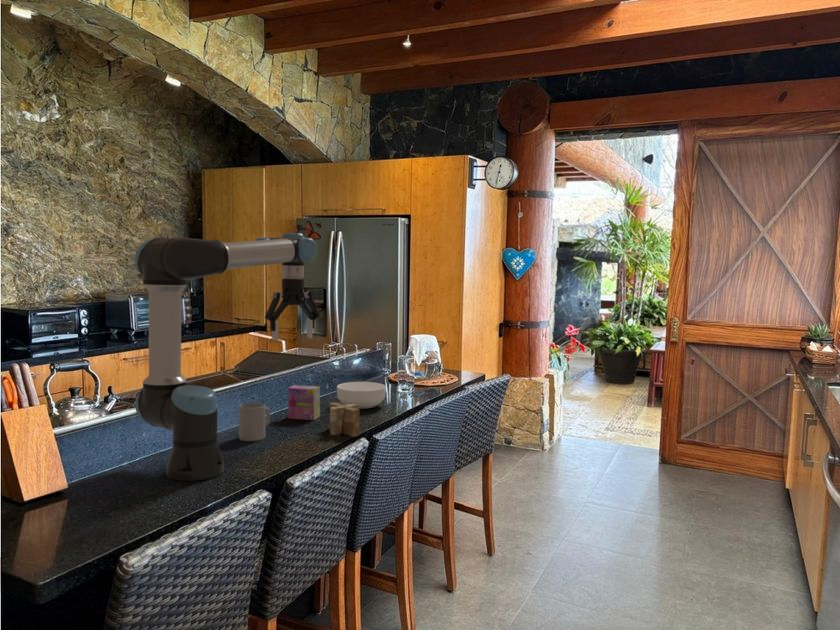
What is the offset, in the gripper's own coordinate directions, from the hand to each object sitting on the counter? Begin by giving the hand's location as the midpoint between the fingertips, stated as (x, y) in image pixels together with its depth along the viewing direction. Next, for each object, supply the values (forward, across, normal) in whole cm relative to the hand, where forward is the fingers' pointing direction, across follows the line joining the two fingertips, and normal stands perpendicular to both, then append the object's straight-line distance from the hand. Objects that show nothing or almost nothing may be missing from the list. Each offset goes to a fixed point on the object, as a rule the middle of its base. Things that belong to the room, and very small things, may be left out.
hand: (292, 339), depth 223 cm
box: (+32, +11, +10) cm, 35 cm away
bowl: (+32, +39, +12) cm, 51 cm away
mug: (+32, -15, -3) cm, 35 cm away
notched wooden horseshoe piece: (+31, +12, -15) cm, 37 cm away
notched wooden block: (+31, +12, -15) cm, 37 cm away
